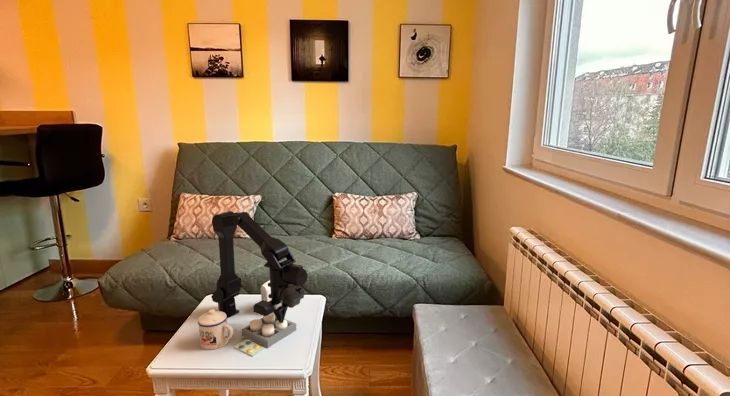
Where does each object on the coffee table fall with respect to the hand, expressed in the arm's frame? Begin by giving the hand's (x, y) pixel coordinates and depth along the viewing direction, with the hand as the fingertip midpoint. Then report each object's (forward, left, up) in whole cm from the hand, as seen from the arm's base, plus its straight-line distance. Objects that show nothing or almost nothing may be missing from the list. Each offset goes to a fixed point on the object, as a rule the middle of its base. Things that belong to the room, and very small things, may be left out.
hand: (281, 322), depth 139 cm
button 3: (-6, 0, -1) cm, 6 cm away
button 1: (-6, -6, -1) cm, 9 cm away
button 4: (0, 0, -3) cm, 3 cm away
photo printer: (-14, +10, -4) cm, 18 cm away
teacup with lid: (-12, -17, -4) cm, 21 cm away
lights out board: (-3, -6, -3) cm, 7 cm away
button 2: (0, -6, -1) cm, 6 cm away
